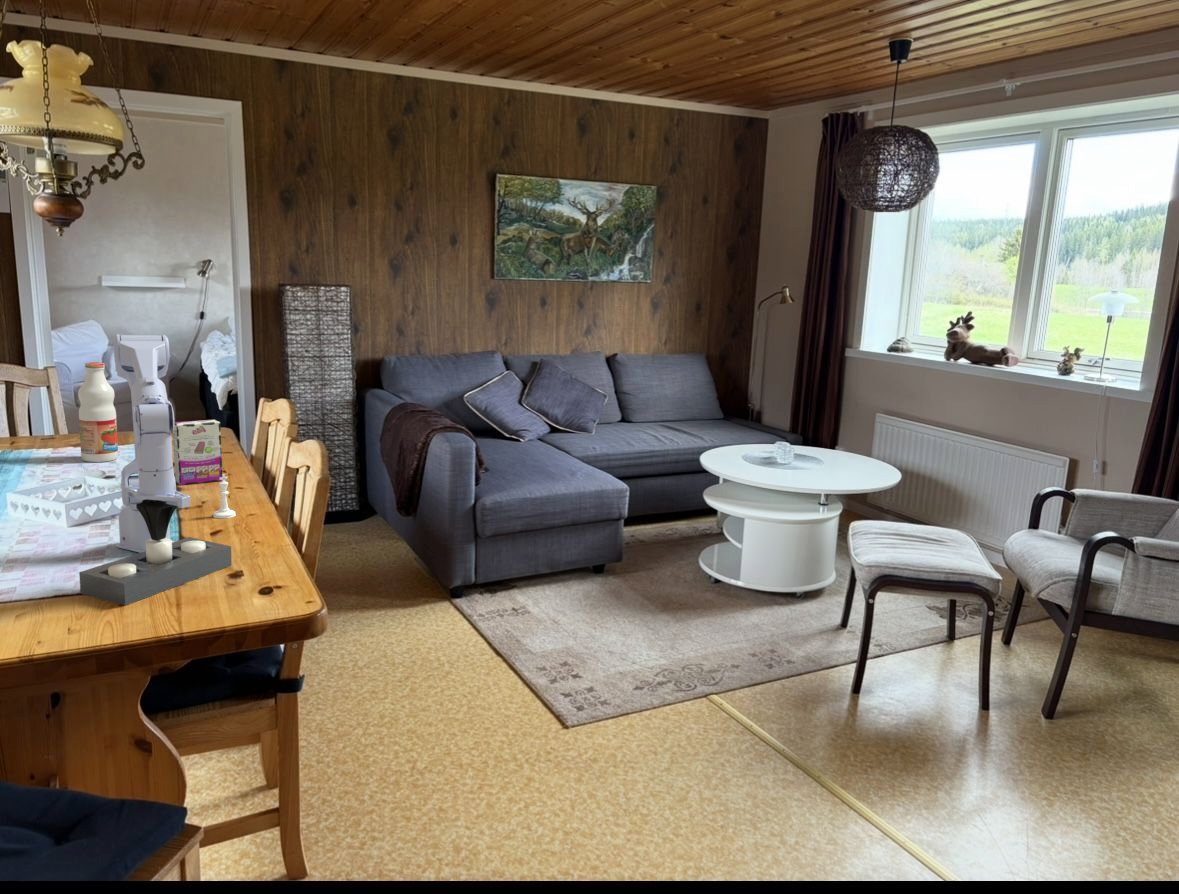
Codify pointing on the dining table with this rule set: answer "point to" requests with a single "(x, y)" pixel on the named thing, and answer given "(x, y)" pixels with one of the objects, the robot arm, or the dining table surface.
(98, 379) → the fruit juice
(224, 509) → the chess piece
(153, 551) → the knob middle
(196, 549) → the knob
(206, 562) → the knob mount
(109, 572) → the knob
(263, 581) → the dining table surface
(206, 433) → the candy bar box
